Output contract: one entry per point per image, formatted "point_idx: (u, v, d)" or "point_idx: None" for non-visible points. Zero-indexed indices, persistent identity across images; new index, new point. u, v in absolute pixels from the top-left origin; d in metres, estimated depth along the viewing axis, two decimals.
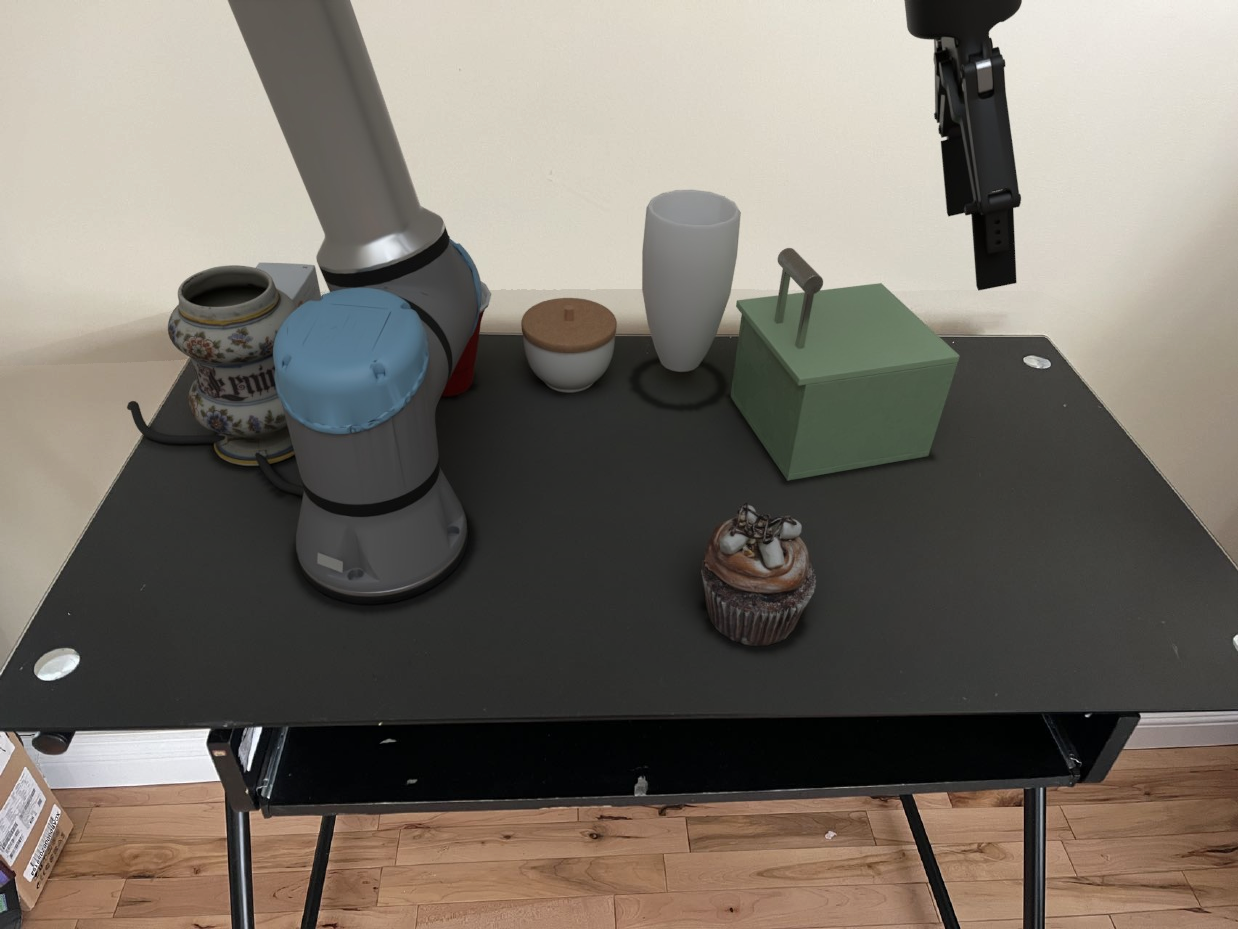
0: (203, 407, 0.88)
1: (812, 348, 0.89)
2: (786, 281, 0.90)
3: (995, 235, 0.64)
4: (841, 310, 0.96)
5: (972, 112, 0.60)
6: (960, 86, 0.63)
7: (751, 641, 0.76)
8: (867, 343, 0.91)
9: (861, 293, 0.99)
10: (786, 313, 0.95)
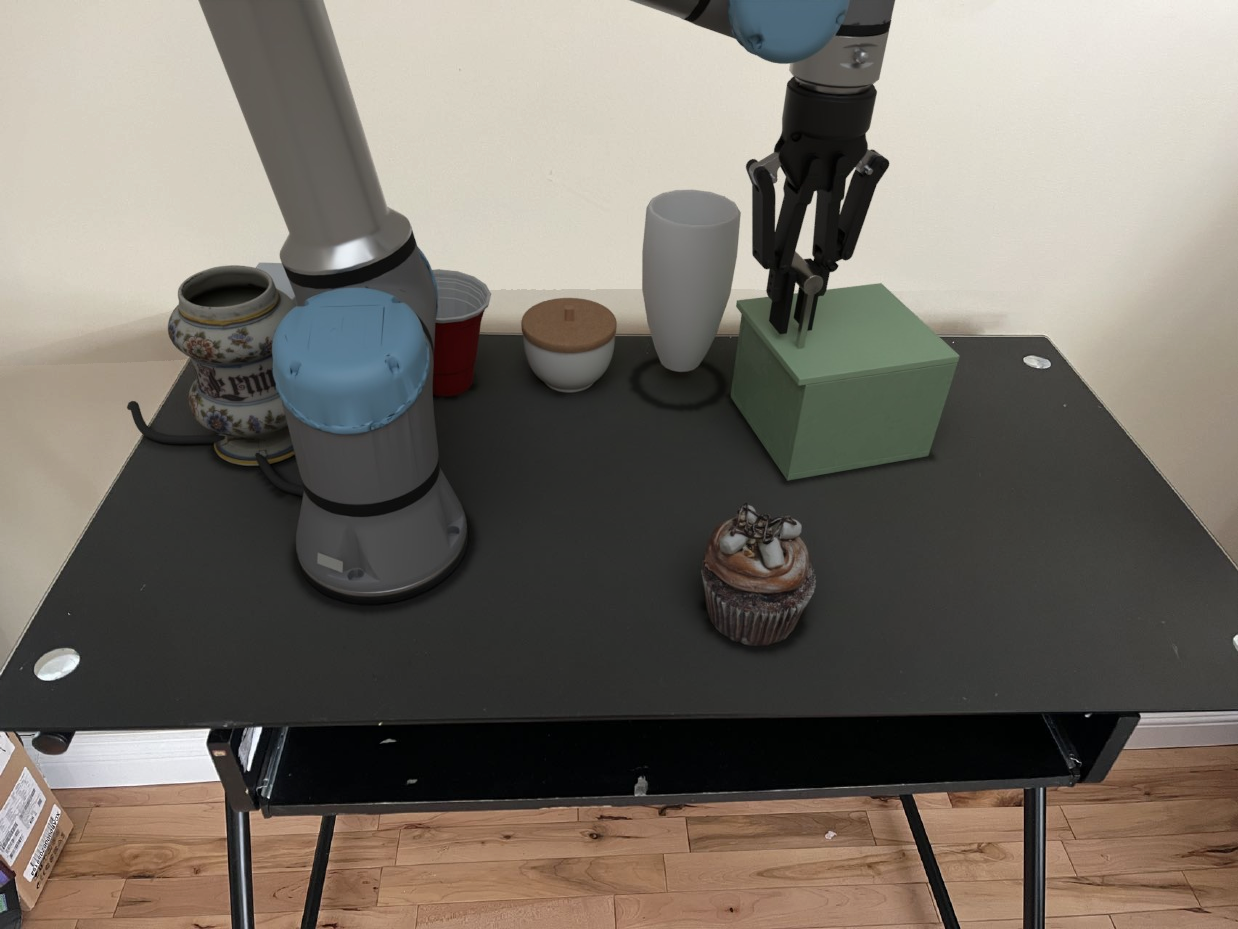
0: (203, 407, 0.88)
1: (812, 348, 0.89)
2: None
3: (769, 284, 0.87)
4: (841, 310, 0.96)
5: (753, 194, 0.82)
6: None
7: (751, 641, 0.76)
8: (867, 343, 0.91)
9: (861, 293, 0.99)
10: None
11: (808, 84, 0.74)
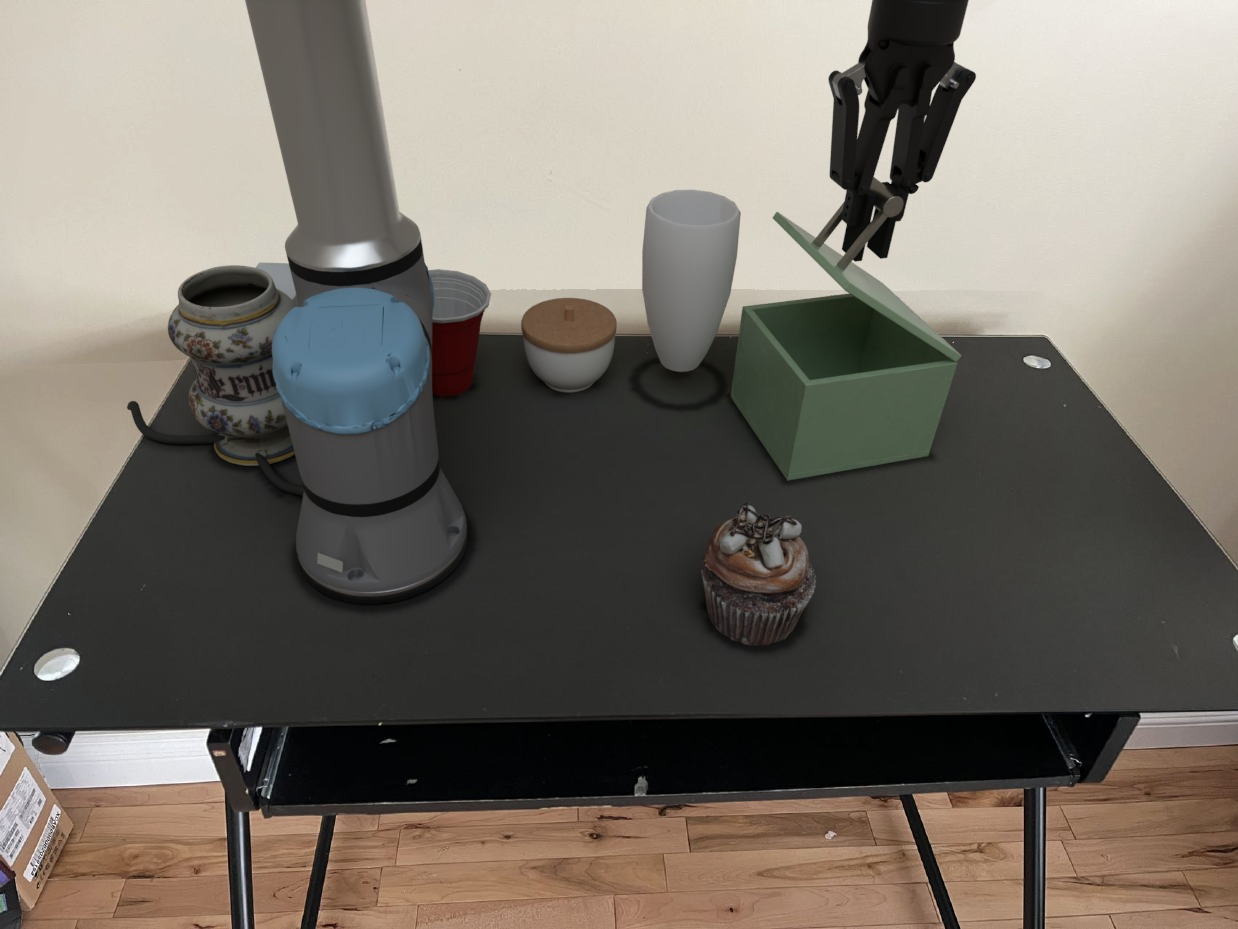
0: (203, 407, 0.88)
1: (850, 275, 0.85)
2: None
3: (846, 208, 0.84)
4: (861, 274, 0.93)
5: (834, 109, 0.79)
6: None
7: (751, 641, 0.76)
8: (891, 302, 0.88)
9: (871, 277, 0.98)
10: None
11: None
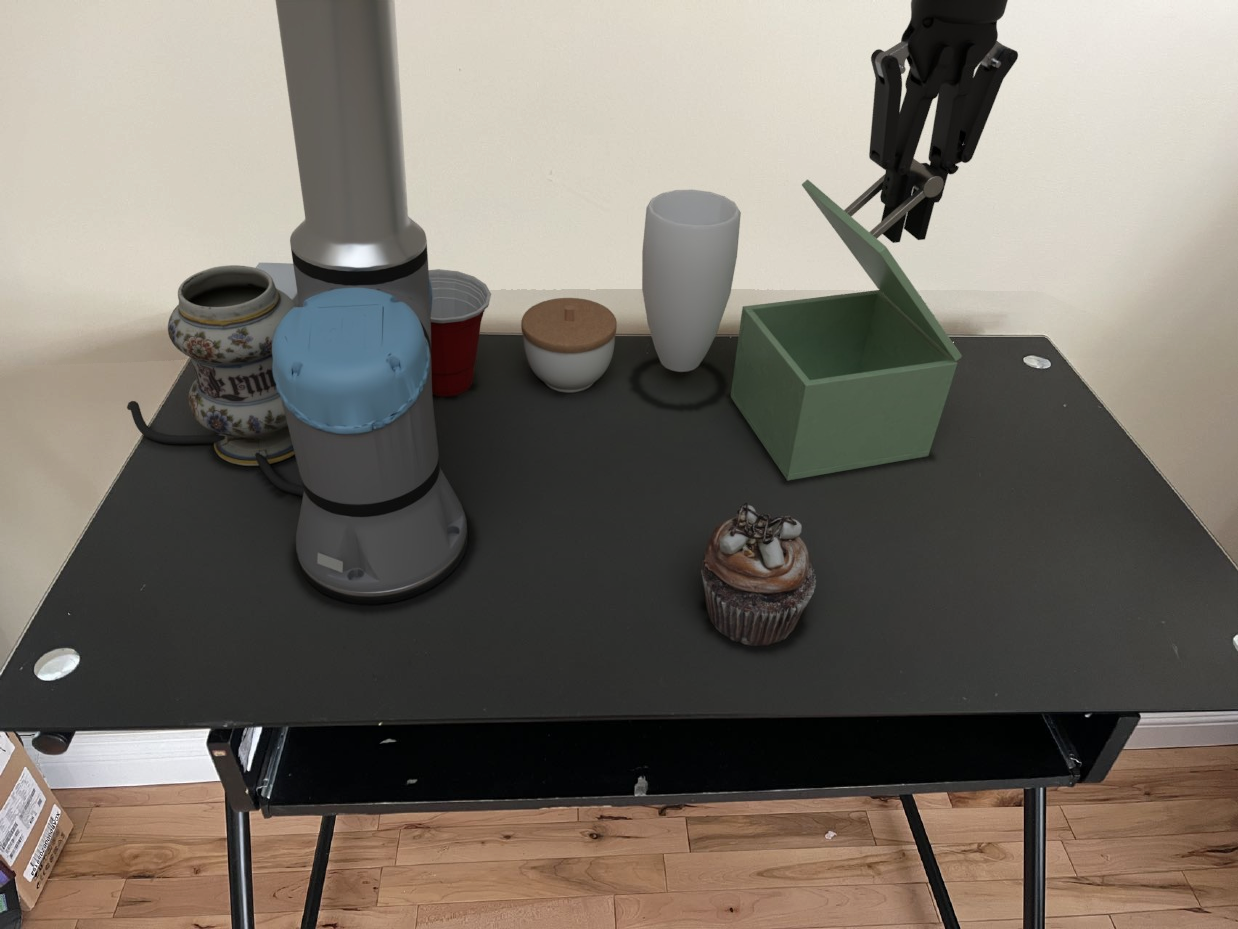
0: (203, 407, 0.88)
1: None
2: None
3: (885, 189, 0.84)
4: None
5: (876, 88, 0.79)
6: None
7: (751, 641, 0.76)
8: None
9: None
10: None
11: None
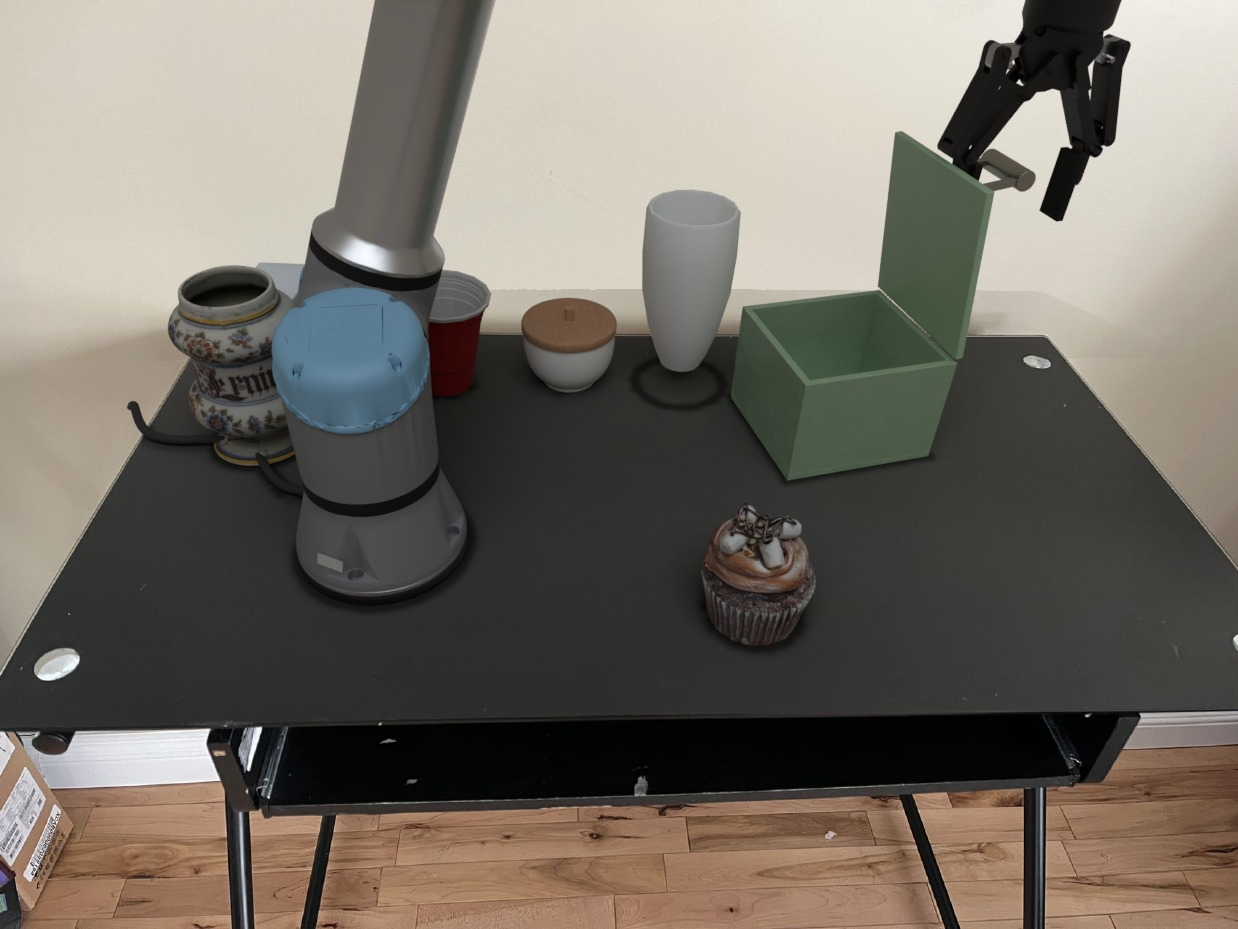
0: (203, 407, 0.88)
1: None
2: None
3: None
4: None
5: (974, 77, 0.81)
6: None
7: (751, 641, 0.76)
8: None
9: None
10: None
11: None
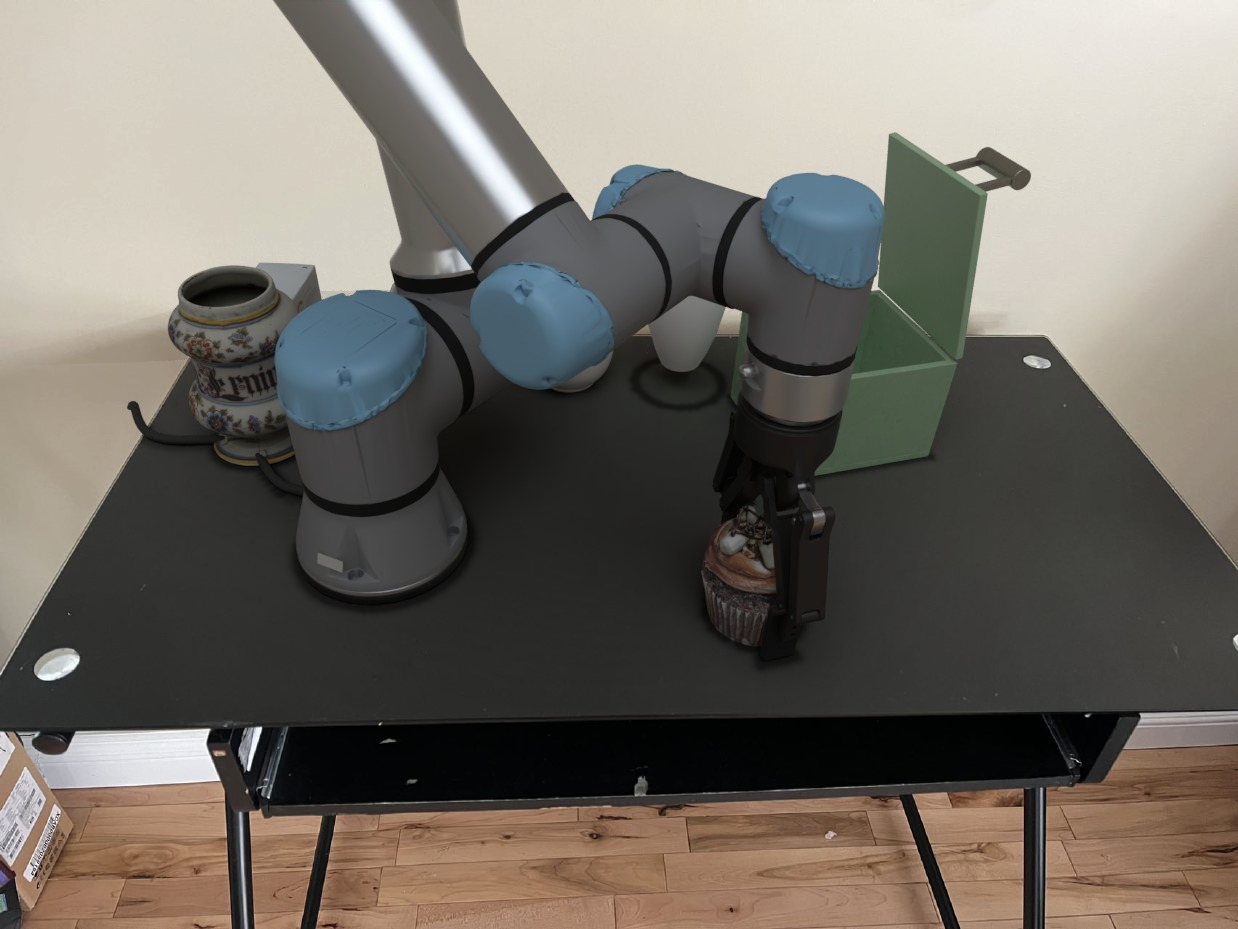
0: (203, 407, 0.88)
1: None
2: (969, 164, 0.88)
3: None
4: None
5: None
6: None
7: (751, 642, 0.76)
8: None
9: None
10: None
11: None
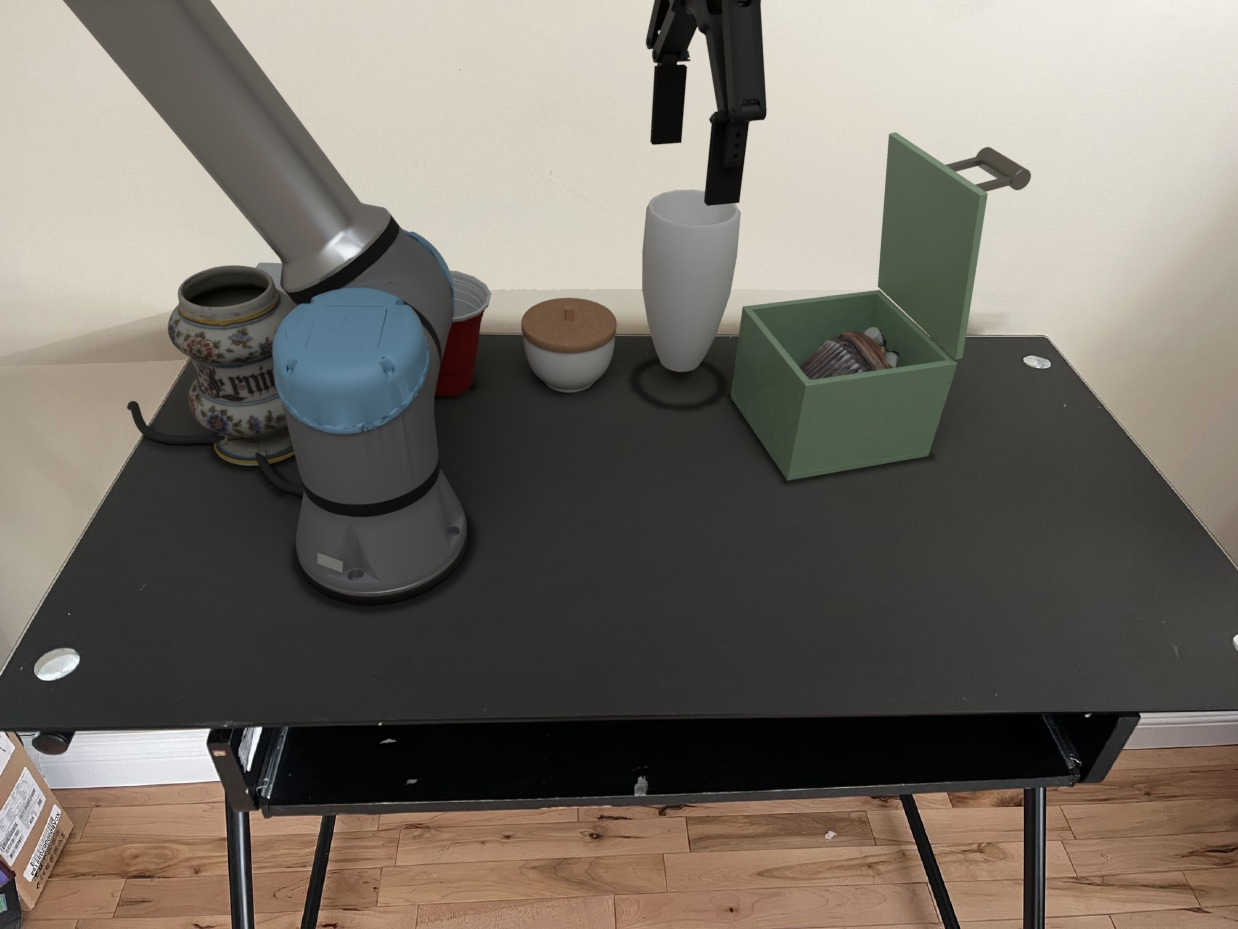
0: (203, 407, 0.88)
1: None
2: (969, 164, 0.88)
3: None
4: None
5: None
6: None
7: None
8: None
9: None
10: None
11: None
